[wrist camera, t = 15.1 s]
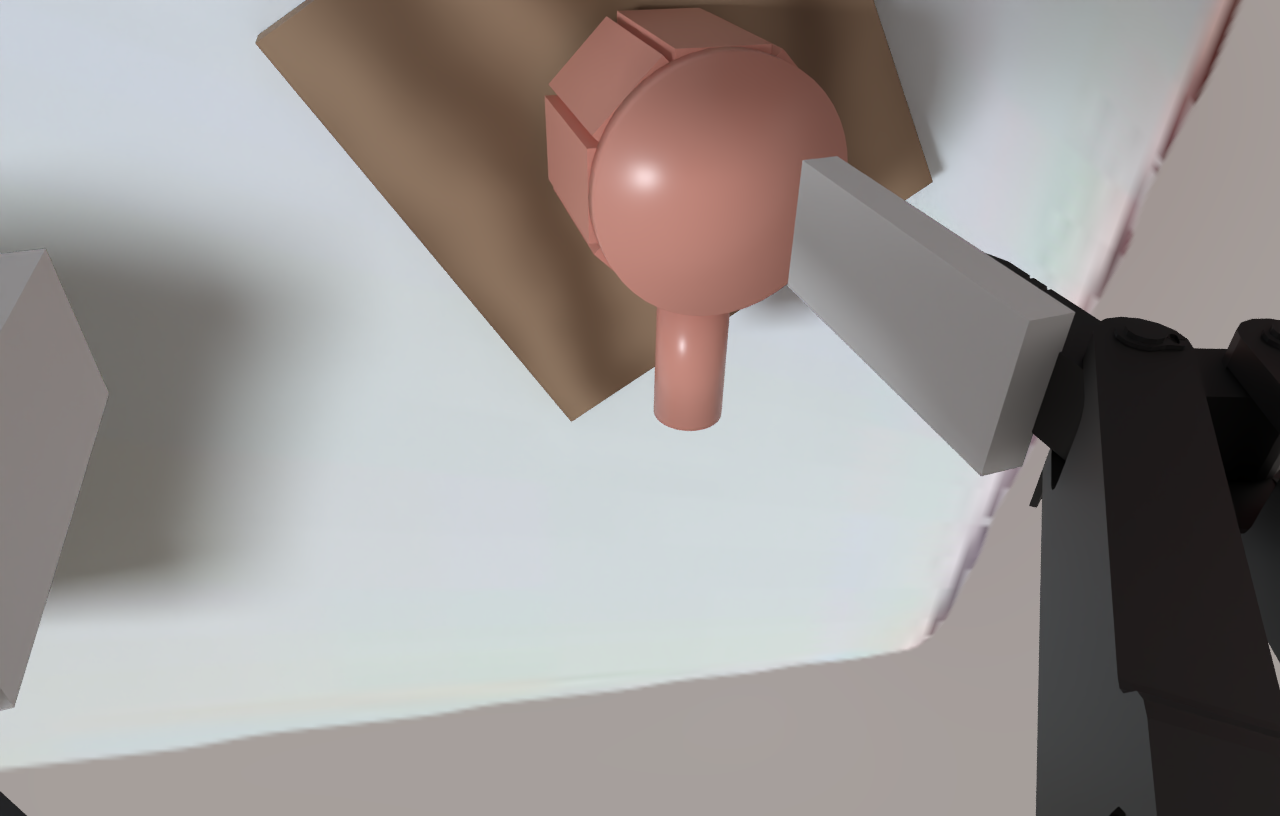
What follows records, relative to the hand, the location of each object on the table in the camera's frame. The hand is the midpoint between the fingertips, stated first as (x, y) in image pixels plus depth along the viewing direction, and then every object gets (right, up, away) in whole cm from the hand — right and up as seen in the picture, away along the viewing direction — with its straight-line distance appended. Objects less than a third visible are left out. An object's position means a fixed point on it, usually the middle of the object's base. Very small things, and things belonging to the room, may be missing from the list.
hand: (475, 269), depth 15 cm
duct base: (+3, +11, +22) cm, 25 cm away
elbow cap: (+4, +7, +22) cm, 23 cm away
